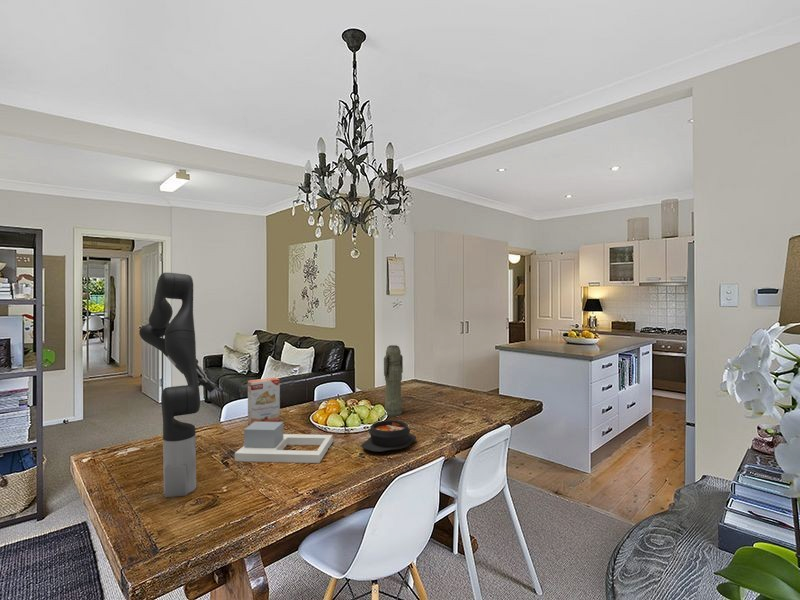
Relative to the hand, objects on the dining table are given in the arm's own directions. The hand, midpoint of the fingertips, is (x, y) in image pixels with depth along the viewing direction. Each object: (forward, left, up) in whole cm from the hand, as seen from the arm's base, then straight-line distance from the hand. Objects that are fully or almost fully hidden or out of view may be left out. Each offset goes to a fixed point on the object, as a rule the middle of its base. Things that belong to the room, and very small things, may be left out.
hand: (212, 390), depth 170 cm
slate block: (-5, -20, -21) cm, 30 cm away
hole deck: (-8, -29, -24) cm, 38 cm away
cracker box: (+33, -16, -24) cm, 44 cm away
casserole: (-10, -70, -24) cm, 75 cm away
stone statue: (+35, -80, -24) cm, 90 cm away
